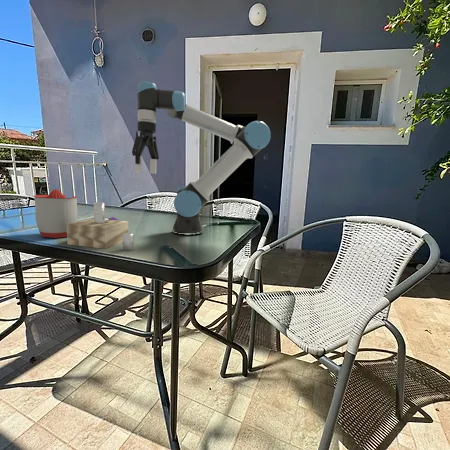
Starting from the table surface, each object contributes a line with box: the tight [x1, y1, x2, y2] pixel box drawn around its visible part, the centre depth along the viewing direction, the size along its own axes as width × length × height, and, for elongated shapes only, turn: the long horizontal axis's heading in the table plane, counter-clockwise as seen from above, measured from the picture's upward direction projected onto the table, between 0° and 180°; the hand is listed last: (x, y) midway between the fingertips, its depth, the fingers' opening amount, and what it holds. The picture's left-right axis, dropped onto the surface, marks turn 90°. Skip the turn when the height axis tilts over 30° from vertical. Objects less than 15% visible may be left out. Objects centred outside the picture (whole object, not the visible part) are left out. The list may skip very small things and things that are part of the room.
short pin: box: [121, 232, 135, 252], centre depth 99 cm, size 4×4×6 cm
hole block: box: [66, 218, 129, 250], centre depth 108 cm, size 16×16×8 cm
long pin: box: [93, 201, 106, 224], centre depth 107 cm, size 4×4×16 cm
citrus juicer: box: [33, 188, 78, 239], centre depth 114 cm, size 16×17×20 cm
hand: (146, 173), depth 117 cm, fingers open, 13 cm apart
